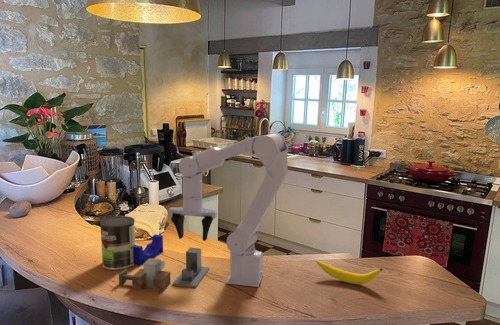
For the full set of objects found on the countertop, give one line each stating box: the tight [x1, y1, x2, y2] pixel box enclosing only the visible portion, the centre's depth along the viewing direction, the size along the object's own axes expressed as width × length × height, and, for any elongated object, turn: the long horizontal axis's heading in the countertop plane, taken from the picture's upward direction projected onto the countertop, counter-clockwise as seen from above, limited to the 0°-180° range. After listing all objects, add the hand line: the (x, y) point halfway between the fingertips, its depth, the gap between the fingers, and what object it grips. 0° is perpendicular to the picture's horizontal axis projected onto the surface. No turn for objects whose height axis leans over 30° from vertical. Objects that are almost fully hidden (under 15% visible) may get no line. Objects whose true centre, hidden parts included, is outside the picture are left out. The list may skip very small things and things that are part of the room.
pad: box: [172, 266, 210, 289], centre depth 108 cm, size 7×12×1 cm, turn 168°
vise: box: [118, 268, 171, 293], centre depth 103 cm, size 14×5×4 cm, turn 78°
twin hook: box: [143, 258, 166, 289], centre depth 108 cm, size 7×13×7 cm, turn 168°
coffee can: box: [99, 215, 136, 271], centre depth 116 cm, size 10×10×14 cm
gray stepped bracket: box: [181, 247, 202, 282], centre depth 108 cm, size 4×8×7 cm, turn 168°
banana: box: [315, 259, 383, 285], centre depth 106 cm, size 3×19×6 cm, turn 64°
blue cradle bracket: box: [133, 233, 164, 267], centre depth 121 cm, size 12×4×6 cm, turn 157°
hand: (193, 238), depth 112 cm, fingers open, 7 cm apart
